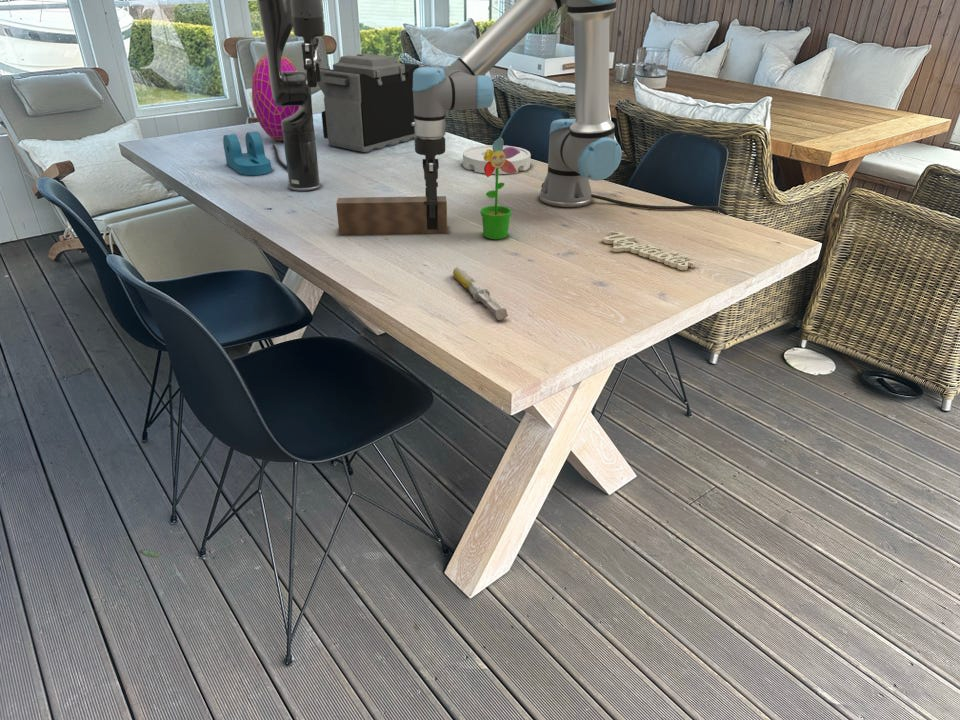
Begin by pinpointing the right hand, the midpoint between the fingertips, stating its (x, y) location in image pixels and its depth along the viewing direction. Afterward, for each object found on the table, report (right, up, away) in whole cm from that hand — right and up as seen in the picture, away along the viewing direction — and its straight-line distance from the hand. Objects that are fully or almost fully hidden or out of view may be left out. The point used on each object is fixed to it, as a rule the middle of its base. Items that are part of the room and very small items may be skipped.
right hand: (431, 220), depth 178 cm
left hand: (-31, +35, 0) cm, 47 cm away
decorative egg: (-63, +48, +86) cm, 117 cm away
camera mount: (-64, +28, +51) cm, 86 cm away
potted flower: (+17, -4, -2) cm, 17 cm away
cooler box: (-28, +48, +86) cm, 102 cm away
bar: (-10, -3, +1) cm, 10 cm away
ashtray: (+18, +31, +58) cm, 68 cm away
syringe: (+12, -23, -33) cm, 42 cm away
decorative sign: (+52, -10, -11) cm, 55 cm away
